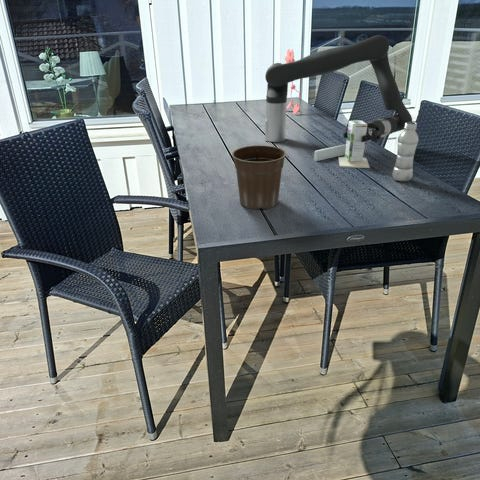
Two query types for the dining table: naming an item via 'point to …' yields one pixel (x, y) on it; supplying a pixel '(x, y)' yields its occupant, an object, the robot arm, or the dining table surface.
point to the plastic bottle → (406, 152)
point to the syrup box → (355, 140)
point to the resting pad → (353, 163)
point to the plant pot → (259, 175)
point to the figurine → (289, 59)
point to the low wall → (329, 152)
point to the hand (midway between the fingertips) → (353, 137)
